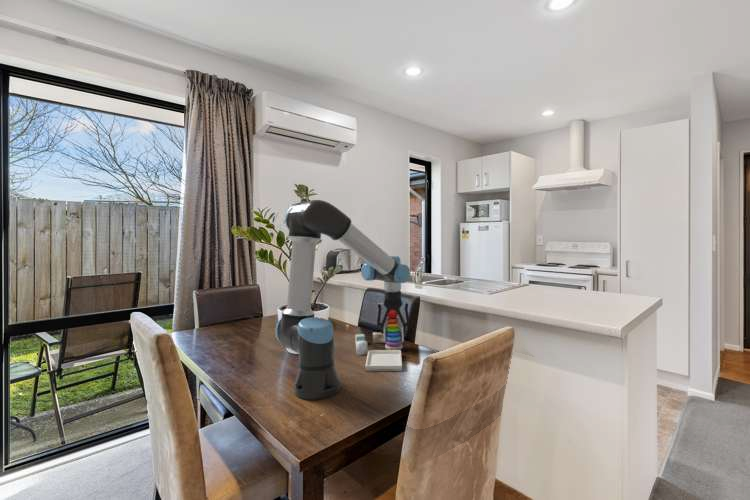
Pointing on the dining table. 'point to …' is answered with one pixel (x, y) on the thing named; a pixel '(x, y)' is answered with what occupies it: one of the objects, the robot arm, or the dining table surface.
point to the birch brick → (378, 337)
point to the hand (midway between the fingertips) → (393, 340)
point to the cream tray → (383, 360)
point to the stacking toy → (393, 332)
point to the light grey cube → (361, 347)
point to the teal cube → (359, 337)
